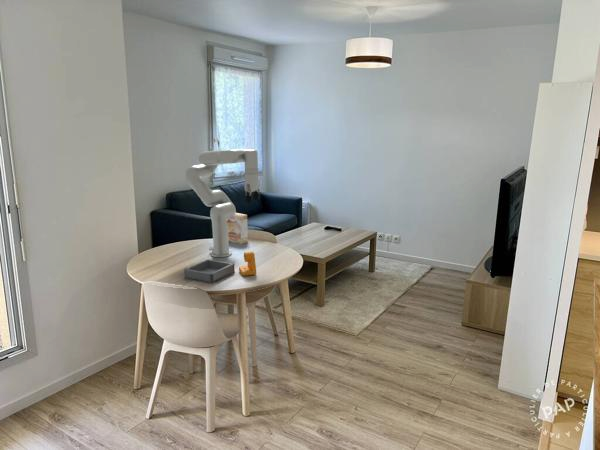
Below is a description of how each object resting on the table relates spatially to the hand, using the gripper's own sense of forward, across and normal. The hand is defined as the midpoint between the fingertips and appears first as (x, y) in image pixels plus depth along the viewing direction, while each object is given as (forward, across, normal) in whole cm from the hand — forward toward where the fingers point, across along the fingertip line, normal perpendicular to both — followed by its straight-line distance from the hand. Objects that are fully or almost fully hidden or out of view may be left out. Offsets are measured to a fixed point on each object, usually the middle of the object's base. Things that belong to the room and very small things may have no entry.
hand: (252, 201), depth 256 cm
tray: (+36, +32, -11) cm, 49 cm away
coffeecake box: (+36, -37, -31) cm, 60 cm away
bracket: (+36, +22, +6) cm, 43 cm away
